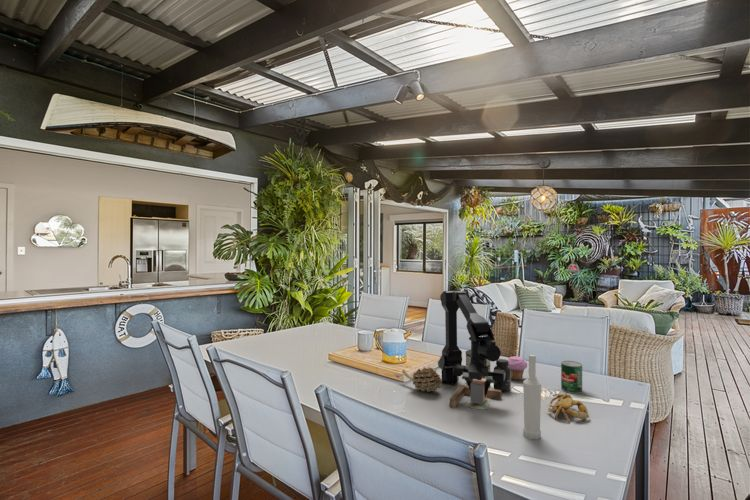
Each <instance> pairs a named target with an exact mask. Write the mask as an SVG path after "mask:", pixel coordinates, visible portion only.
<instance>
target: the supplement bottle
mask: <svg viewBox="0 0 750 500" xmlns="http://www.w3.org/2000/svg"><path fill="white" fill-rule="evenodd" d="M508 366H509V364H508V359H503V358H499V359H498V360H497V361H495V366H494V367H493V370H494V369H497V370H504V371H505V380H504V382H499V381H494V383H493V389H496V390H501V393H507V392H510V391H511V390H512V388H511V387H512V384H511V383H512V379H511V369H510V368H509V367H508Z"/></svg>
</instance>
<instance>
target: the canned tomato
mask: <svg viewBox="0 0 750 500" xmlns="http://www.w3.org/2000/svg"><path fill="white" fill-rule="evenodd" d="M560 367H561V368H560V373H561V374H560V377H561V378H560V381H561V382H560V384H561V386H560V387H561V388H560V390H562V391H563V392H565V393H567V394H573V395H575V394H577V395H578V394H582V393H583V364H582V362H581V363H580V362H578V361H572V360H563V361H560Z"/></svg>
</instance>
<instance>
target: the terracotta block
mask: <svg viewBox="0 0 750 500" xmlns="http://www.w3.org/2000/svg"><path fill="white" fill-rule="evenodd" d="M485 381H486V379H484V378H482V380H477V379H473V381H472V382H471V395H470V399H471V403H477V404H483V403H484V401H485V399H486V397H487V395H486V397H485V394H484V392H485V384H486V383H485Z"/></svg>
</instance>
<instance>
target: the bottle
mask: <svg viewBox="0 0 750 500" xmlns="http://www.w3.org/2000/svg"><path fill="white" fill-rule="evenodd" d="M536 356H537V355H535V354H528V376H527V377H526V379H524V380H523V383H522V385H523V386H522V387H523V391H522V392H523V426H524V427H523V428H522V431H523V432H522V433H523V436H524V437H526V438H527V439H529V440H530V439H531V440H539V439H540V438H541V435H542V430H541V408H542V405H541V404H542V403H541V402H542V383H541V382H540V381H539V380H538V379H537V377H536V375H537V374H536V365H537V363H536V362H537V357H536Z"/></svg>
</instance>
